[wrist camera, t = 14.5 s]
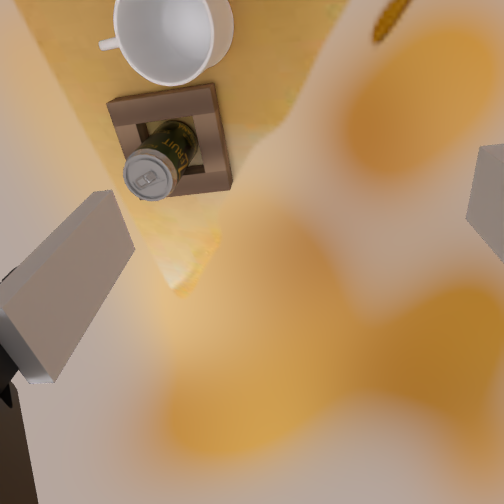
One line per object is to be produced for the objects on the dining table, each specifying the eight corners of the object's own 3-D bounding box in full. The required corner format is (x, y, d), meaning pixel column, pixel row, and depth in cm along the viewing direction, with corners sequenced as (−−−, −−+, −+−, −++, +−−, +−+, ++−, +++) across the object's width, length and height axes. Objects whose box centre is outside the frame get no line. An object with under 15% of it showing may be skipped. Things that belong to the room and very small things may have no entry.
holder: (116, 97, 43) (106, 103, 41) (214, 82, 42) (209, 87, 39) (147, 190, 50) (139, 200, 48) (232, 180, 48) (230, 190, 46)
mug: (136, 75, 42) (91, 97, 32) (114, -17, 37) (53, -25, 27) (238, 65, 41) (224, 84, 31) (228, -31, 36) (207, -45, 26)
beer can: (173, 169, 48) (145, 211, 38) (147, 133, 46) (109, 169, 36) (206, 149, 46) (185, 188, 36) (180, 110, 44) (150, 141, 34)
